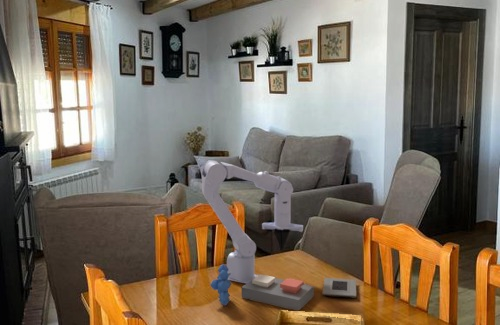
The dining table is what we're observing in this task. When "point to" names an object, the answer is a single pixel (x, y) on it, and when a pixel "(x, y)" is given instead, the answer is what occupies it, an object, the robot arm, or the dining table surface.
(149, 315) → the dining table surface
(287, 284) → the red plunger
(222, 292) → the grapes
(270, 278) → the white plunger
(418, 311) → the dining table surface
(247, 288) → the panel
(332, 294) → the electrical outlet
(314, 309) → the dining table surface
